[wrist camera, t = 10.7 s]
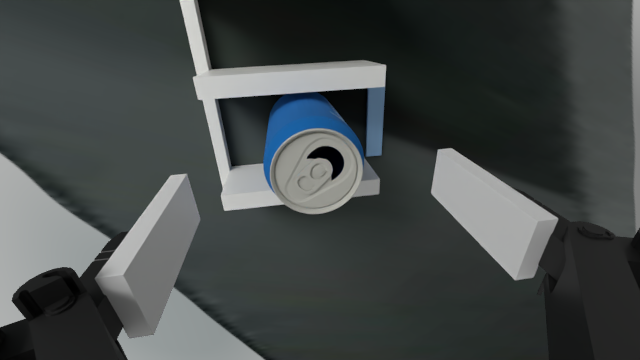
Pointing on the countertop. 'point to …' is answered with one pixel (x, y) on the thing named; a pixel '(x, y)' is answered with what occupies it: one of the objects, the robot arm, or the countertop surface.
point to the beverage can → (311, 154)
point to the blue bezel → (374, 120)
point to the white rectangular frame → (212, 84)
